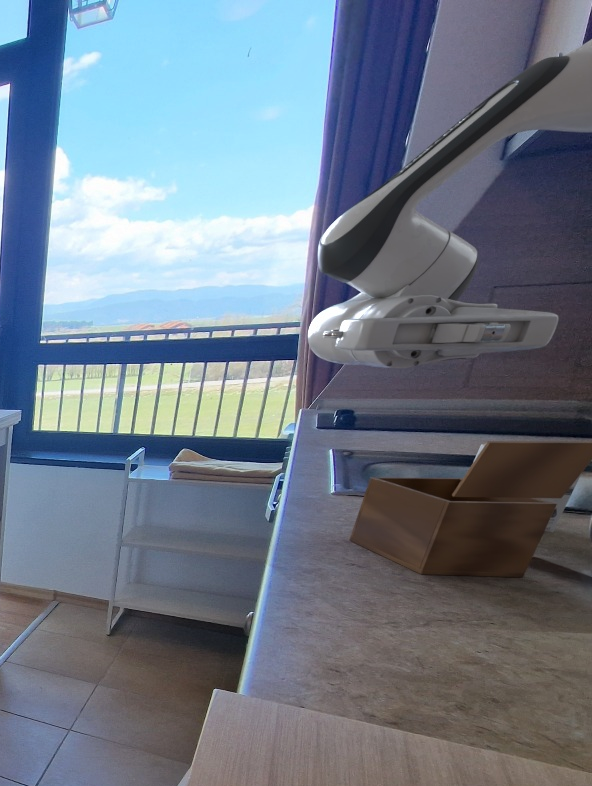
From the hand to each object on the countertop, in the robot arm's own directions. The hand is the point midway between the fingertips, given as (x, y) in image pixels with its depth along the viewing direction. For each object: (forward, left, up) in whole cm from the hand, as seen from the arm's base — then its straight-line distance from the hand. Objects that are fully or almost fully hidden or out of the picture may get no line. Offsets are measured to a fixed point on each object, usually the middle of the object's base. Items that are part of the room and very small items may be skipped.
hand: (493, 333), depth 69 cm
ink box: (-15, -7, -26) cm, 30 cm away
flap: (0, +10, -13) cm, 17 cm away
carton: (0, +3, -25) cm, 26 cm away
